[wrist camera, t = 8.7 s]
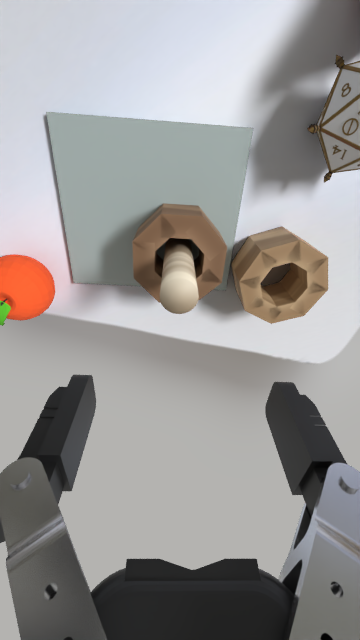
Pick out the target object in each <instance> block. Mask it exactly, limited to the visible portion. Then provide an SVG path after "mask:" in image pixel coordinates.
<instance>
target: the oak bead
mask: <svg viewBox="0 0 360 640" xmlns="http://www.w3.org/2000/svg"><path fill="white" fill-rule="evenodd" d="M287 263H290V270H289V271H288V273H287V274H286V275H285V276H284V278H283V279H282V280H281V281H280V282H279V283H275V284H271V285H267V286H262V285H261V284H260V283H261V282H262V280H263V279H264V278H265V277H266V275H267V274H268V273H269V271H270V270H271V269H272V268H273V267H276V266H280V265H284V264H287ZM231 267H232V272H233V277H234V282H235V287H236V291H237V293H238V296H239V298H240V300H241V303H242V305H243V307H244V310H245V311H247V312H249V313H251V314H253V315H255V316H257V317H259V318H261V319H263V320H265V321H267V322H269V323H271V324H272V323H276V322H280V321H284V320H288V319H292V318H297V317H301V316H304V315H305V314H306V313H307V312H308V311H309V310H310V309H311V308H312V306H313V305H314V304H315V303H316V302H317V301H318V300H319V299H320V298H321V297H322V296H323V295H324V293H325V292H326V291H327V290H328V257H327V256H325V255H324V254H322V253H321V252H320V251H318V250H317V249H315V248H314V247H313V246H311V245H310V244H309V243H307V242H306V241H304V240H303V239H301V238H299V237H298V236H296V235H295V234H293V233H291V232H290V231H288V230H287V229H285V228H284V227H278V228H275V229H272V230H268V231H265V232H261V233H258V234H254V235H251V236H249V237H248V238H247V240H246V241H245V243H244V244H243V246H242V247H241V249H240V250H239V252H238V253H237V255H236V256H235V258H234V259H233V261H232V262H231Z"/></svg>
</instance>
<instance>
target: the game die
mask: <svg viewBox="0 0 360 640" xmlns="http://www.w3.org/2000/svg"><path fill="white" fill-rule="evenodd" d="M335 64H336V65H337V67H338V68H340V70H339V73H338V75H337V78H336V80H335V82H334V85H333V87H332V89H331V92H330V94H329V96H328V99H327V101H326V103H325V106H324V108H323V111H322V113H321V115H320V118H319V120H318V122H317V125H315V124H314V125H312V124H311V125H310V126H309V128H307V129H308V131H310V132H311V133H312V134H314V133H317V134H318V137H319V141H320V144H321V147H322V150H323V153H324V156H325V159H326V163H327V166H328V169H329V172H328V173H327V174H326V175H325V176H324V182H326V181H328V180H330V177H331V175H332V173H336V172H343V171H351V170H358V169H360V61H358V62H354V63H350V64H347V65H345V64H344V60H343V56H342V57H341V56H338V55H336V62H335Z"/></svg>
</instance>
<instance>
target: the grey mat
mask: <svg viewBox="0 0 360 640" xmlns="http://www.w3.org/2000/svg"><path fill="white" fill-rule="evenodd" d="M46 114H47V120H48V126H49V132H50V139H51V145H52V151H53V157H54V163H55V170H56V176H57V182H58V188H59V194H60V201H61V207H62V213H63V219H64V226H65V232H66V238H67V244H68V250H69V257H70V263H71V269H72V275H73V281H74V283H87V284H107V285H127V286H141V285H140V284H139V283H138V282H137V281H136V280H135V279H134V276H133V245H132V241H133V239H134V237H135V235H136V232H137V230H138V228H139V227H140V226H141V225H142V224H143V223H144V222H145V221H146V220H147V219H148V218H149V217H150V216H151V215H152V214H153V213H154V212H155V211H156V210H157V209H158V208H159V207H160V206H161V205H162V204H163V203H165V204H181V205H196V206H199V207H200V208H201V209H202V211H203V212H204V213H205V214H206V216H207V217H208V218H209V219H210V221H211V222H212V223H213V224H214V226H215V227H216V228H217V230H218V231H219V232H220V234H221V236H222V238H223V240H224V241H225V243H226V245H227V253H226V259H225V265H224V272H223V278H222V283H221V284H219V285H218V286H217V287H216V288H214V289H213V290H226V286H227V280H228V275H229V269H230V263H231V257H232V251H233V245H234V239H235V233H236V227H237V222H238V216H239V210H240V204H241V198H242V192H243V186H244V180H245V174H246V169H247V163H248V157H249V151H250V145H251V139H252V133H253V128H247V127H234V126H221V125H208V124H196V123H183V122H170V121H157V120H145V119H132V118H119V117H106V116H93V115H81V114H68V113H55V112H46ZM189 241H190V243H191V248H192V255H193V260H195V259H196V258H197V257H198V256H199V248H198V246H197V245H196V244H195V243H194V242H193V241H192V239H189ZM166 242H167V241H166ZM166 242H165V243H164V244H163V245H162V246H161V247H159V248H158V249H157V254H158V255H159V256H160V257H161V258H162V259H163V260H164V255H165V246H166Z"/></svg>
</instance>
